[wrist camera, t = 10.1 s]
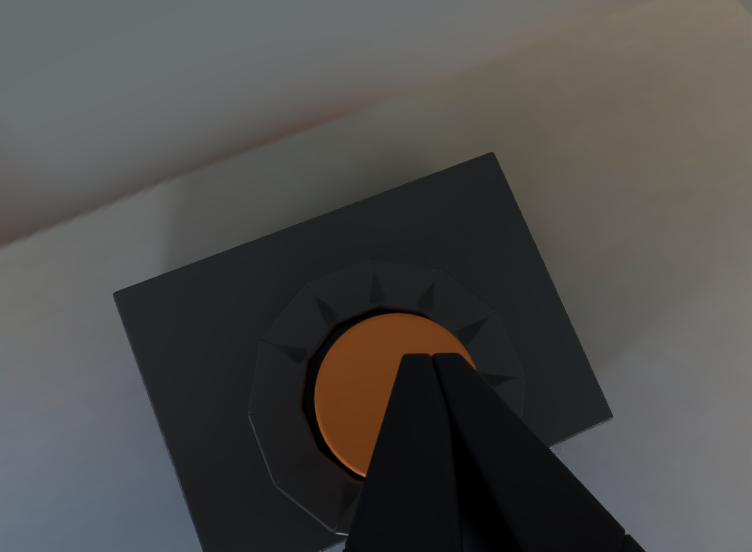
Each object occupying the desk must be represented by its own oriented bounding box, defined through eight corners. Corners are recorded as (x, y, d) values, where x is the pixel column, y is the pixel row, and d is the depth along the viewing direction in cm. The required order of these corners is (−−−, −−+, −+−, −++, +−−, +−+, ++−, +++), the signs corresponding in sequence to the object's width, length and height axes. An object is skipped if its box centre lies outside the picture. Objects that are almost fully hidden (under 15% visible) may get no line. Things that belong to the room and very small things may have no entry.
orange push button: (425, 301, 15) (443, 288, 12) (481, 433, 14) (509, 443, 12) (294, 354, 14) (288, 350, 12) (347, 493, 14) (352, 514, 12)
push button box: (460, 194, 21) (514, 123, 15) (557, 413, 20) (654, 429, 14) (155, 310, 19) (82, 281, 14) (244, 554, 18) (206, 638, 13)
